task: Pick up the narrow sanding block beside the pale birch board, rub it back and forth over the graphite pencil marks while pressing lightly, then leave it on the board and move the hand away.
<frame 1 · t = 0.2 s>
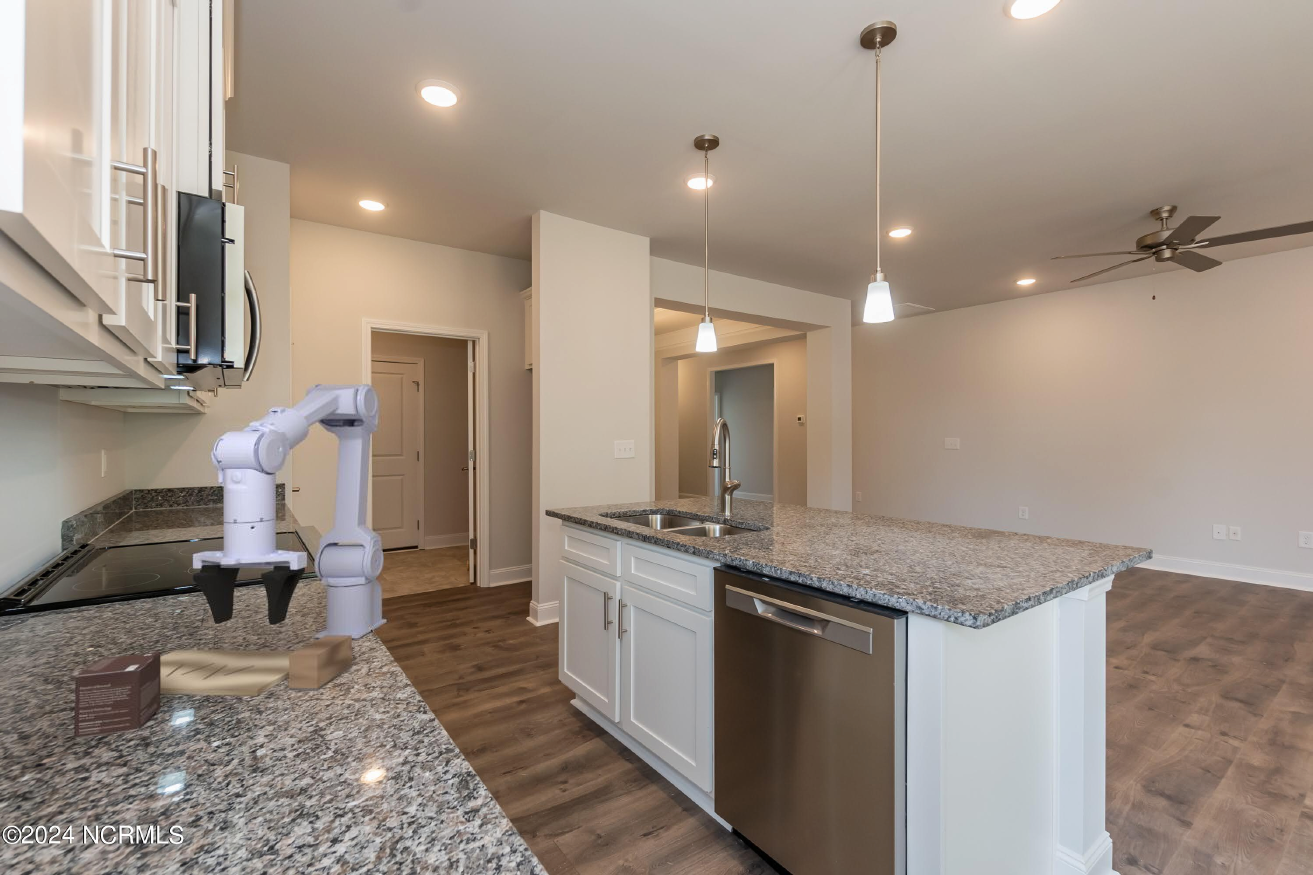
hand: (250, 621, 77), 10 cm above the counter, tool pointing down, fingers open, 7 cm apart
sanding block: (321, 679, 83), on the counter
board: (214, 673, 85), on the counter
box: (119, 725, 70), on the counter
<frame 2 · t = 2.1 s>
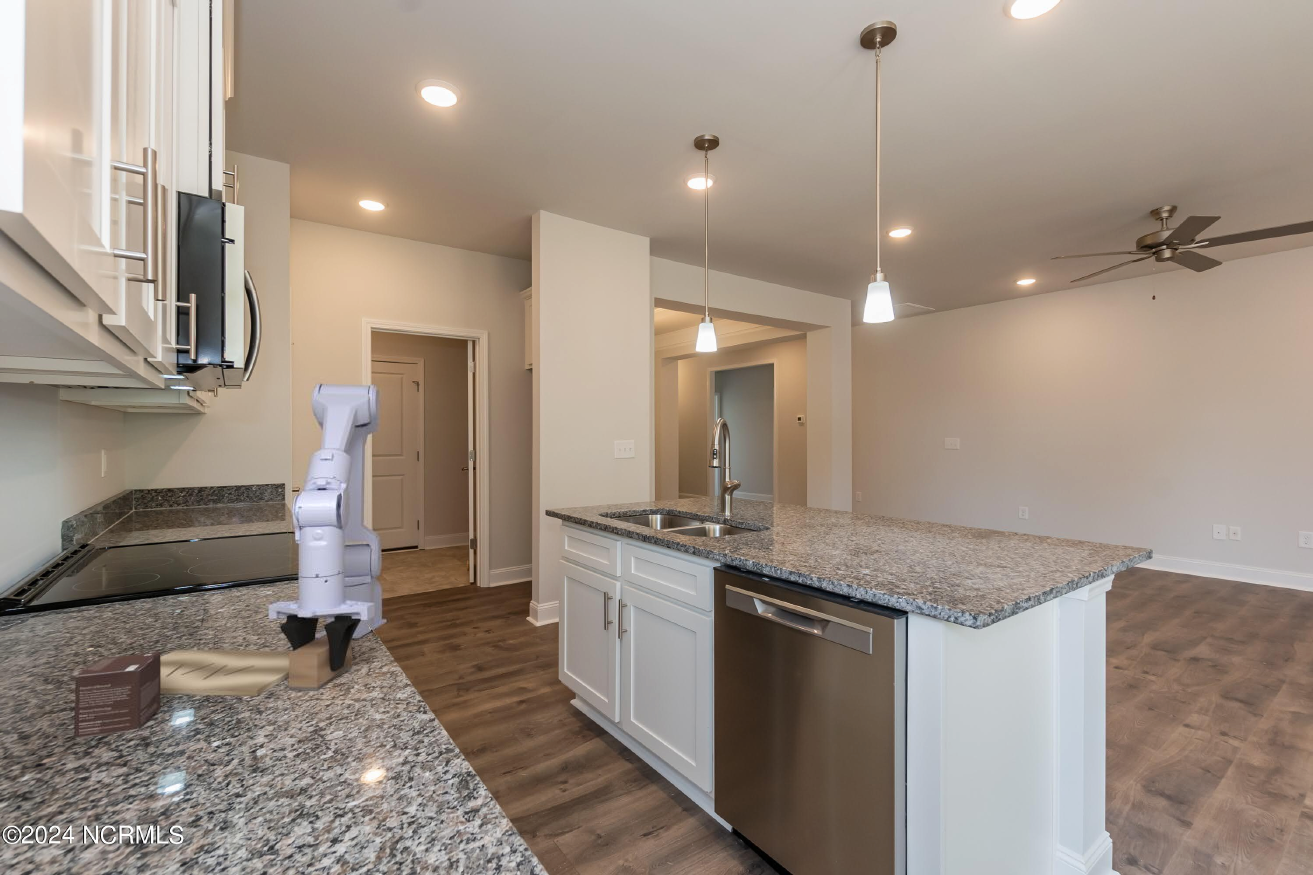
hand: (321, 668, 83), 1 cm above the counter, tool pointing down, fingers closed on sanding block, 4 cm apart
sanding block: (321, 678, 83), on the counter, touching gripper
everything else where it was.
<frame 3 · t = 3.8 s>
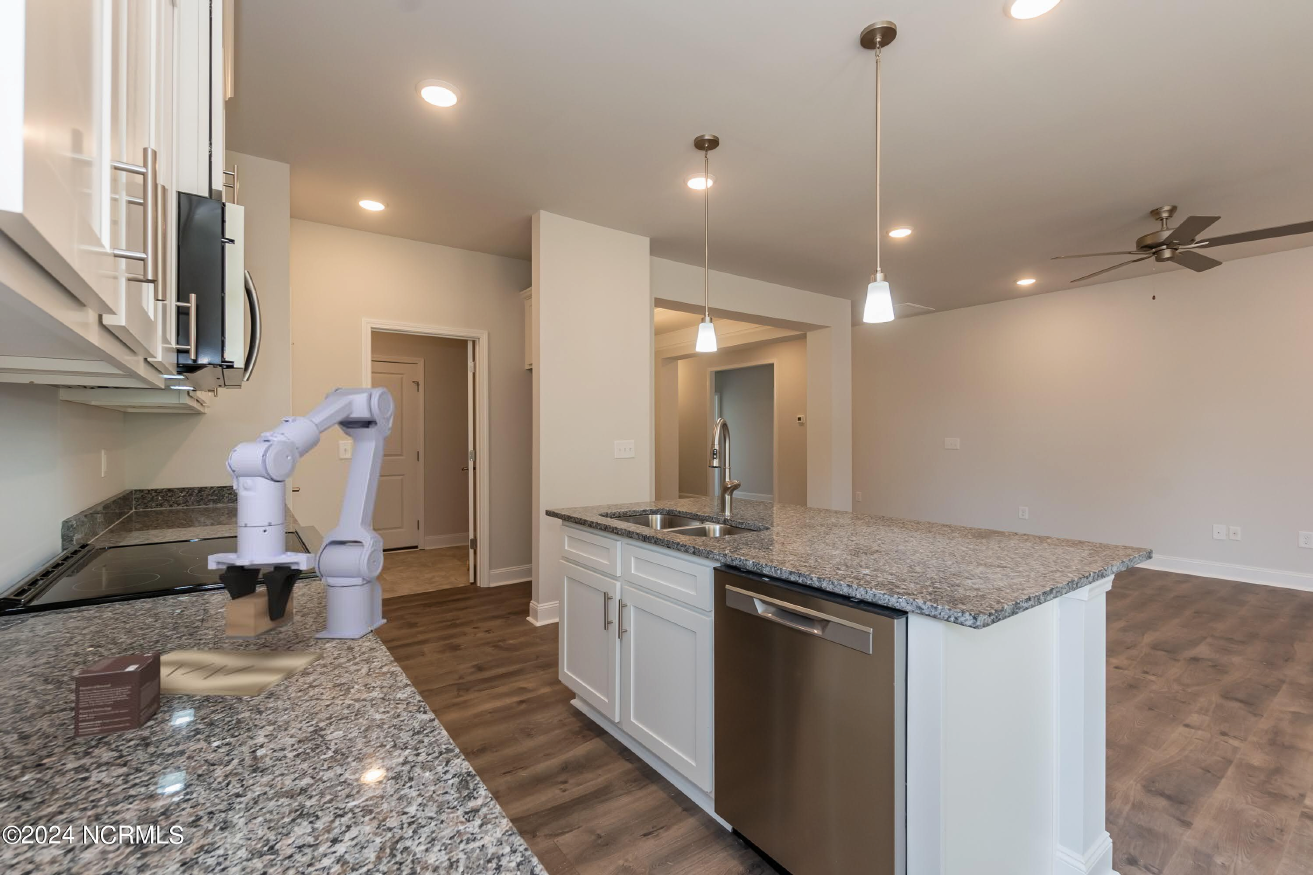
hand: (261, 618, 83), 8 cm above the counter, tool pointing down, fingers closed on sanding block, 4 cm apart
sanding block: (261, 629, 83), point 7 cm above the counter, touching gripper
everything else where it was.
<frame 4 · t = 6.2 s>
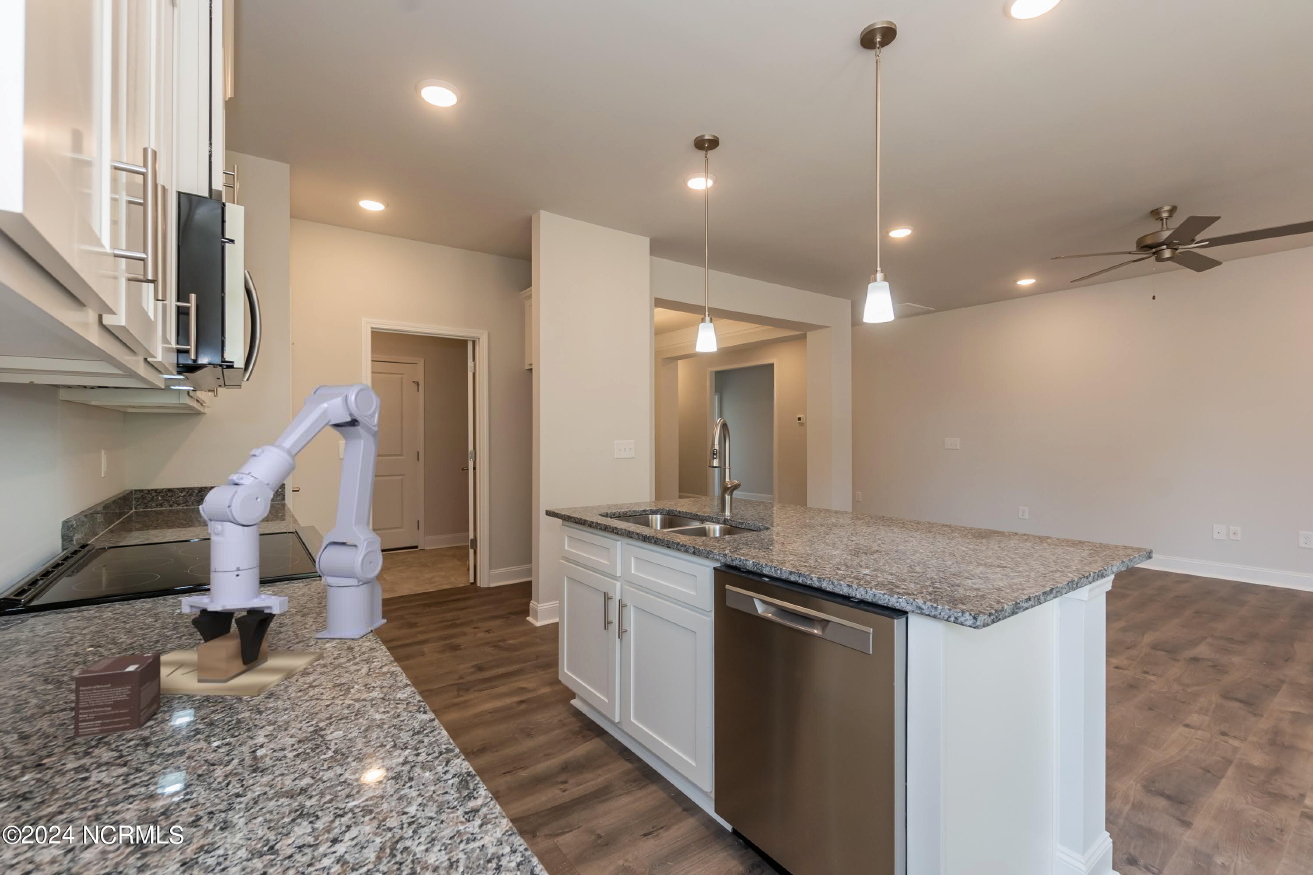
hand: (235, 661, 83), 2 cm above the counter, tool pointing down, fingers closed on sanding block, 4 cm apart
sanding block: (234, 671, 83), point 1 cm above the counter, touching gripper
everything else where it was.
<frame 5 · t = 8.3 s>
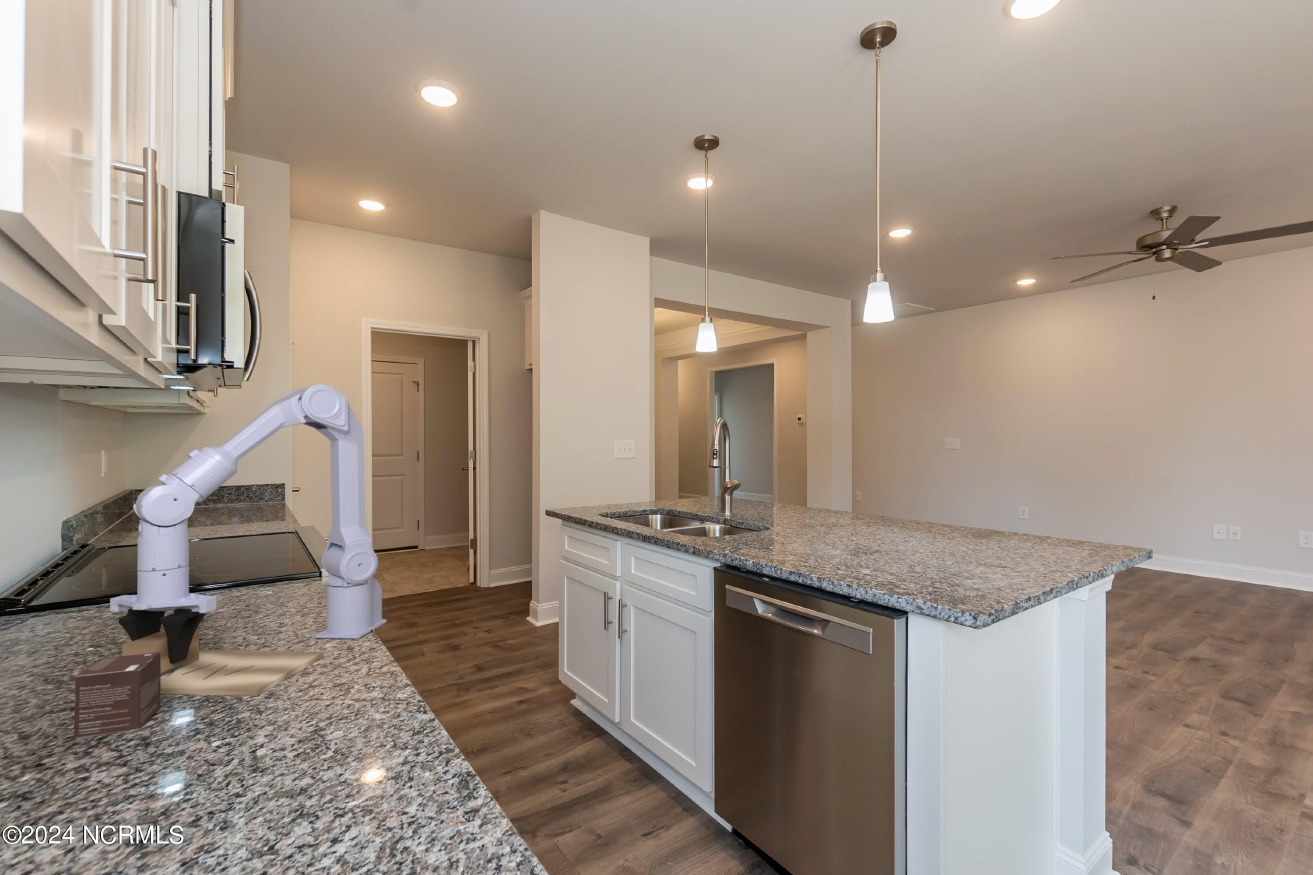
hand: (163, 660, 84), 2 cm above the counter, tool pointing down, fingers closed on sanding block, 4 cm apart
sanding block: (162, 669, 84), point 1 cm above the counter, touching gripper
everything else where it was.
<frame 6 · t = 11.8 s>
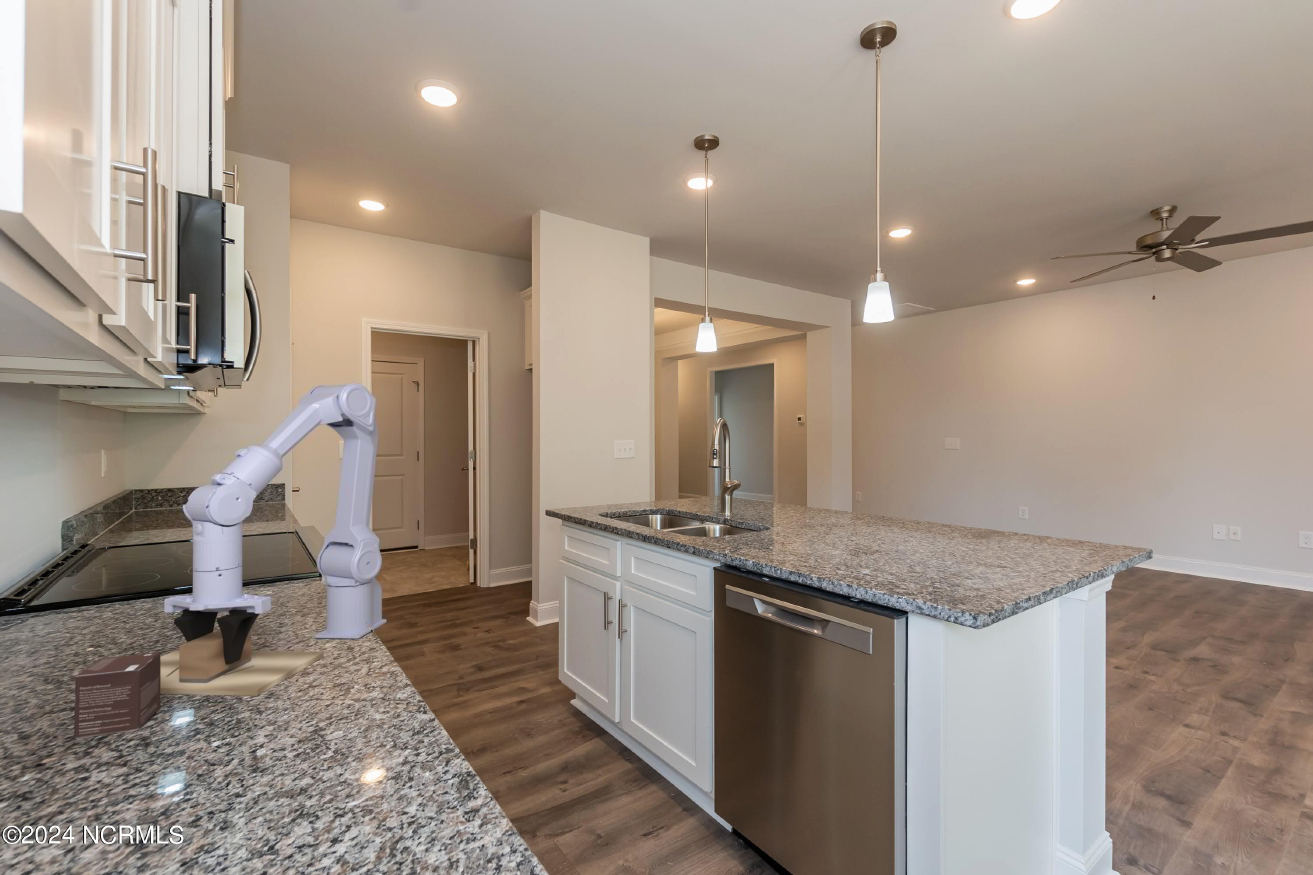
hand: (217, 661, 83), 2 cm above the counter, tool pointing down, fingers closed on sanding block, 4 cm apart
sanding block: (216, 670, 83), point 1 cm above the counter, touching gripper
everything else where it was.
when the fingers open (2 cm above the counter, at t = 15.1 s): sanding block stays where it is, resting on board.
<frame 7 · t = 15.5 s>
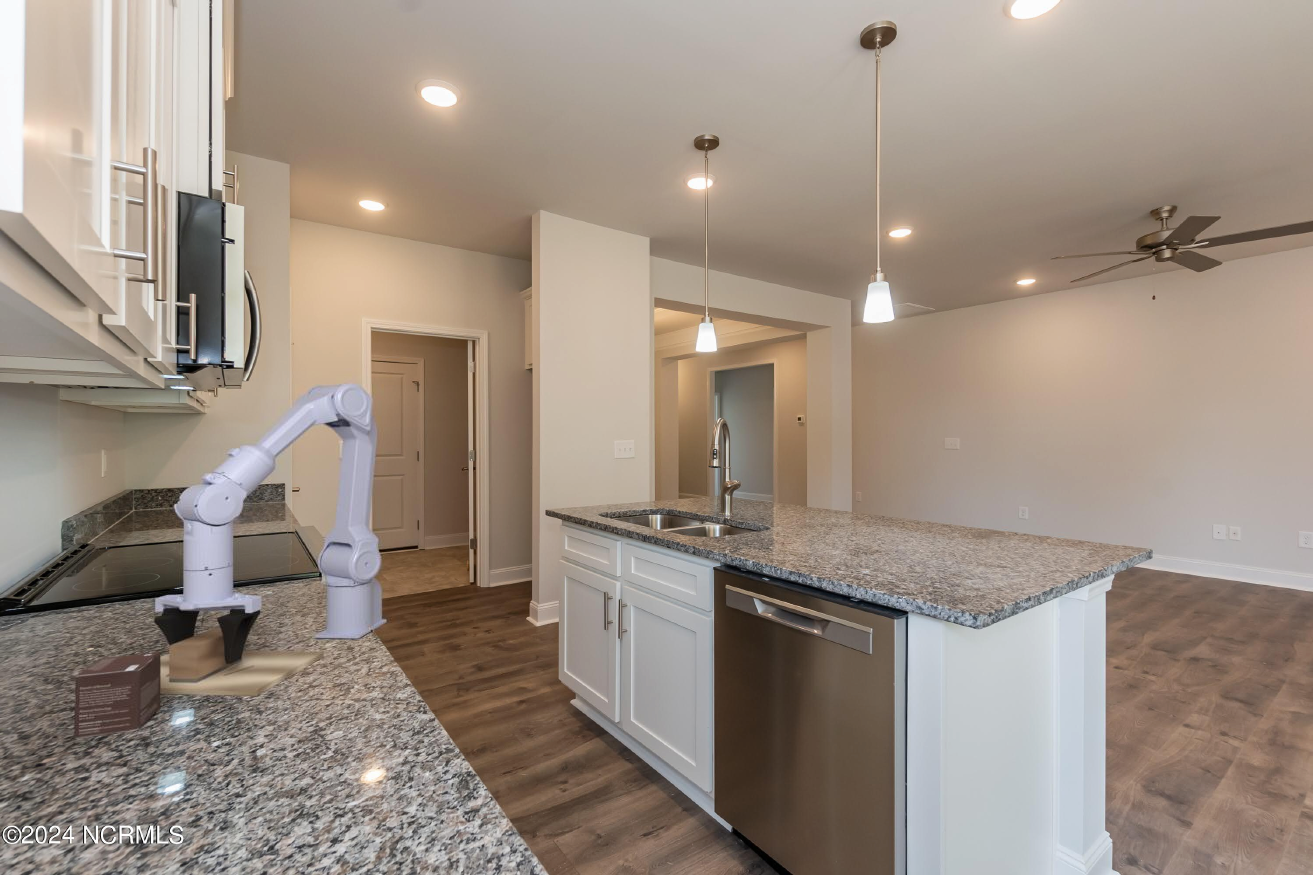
hand: (208, 660, 84), 2 cm above the counter, tool pointing down, fingers open, 7 cm apart
sanding block: (207, 670, 83), point 1 cm above the counter, touching board
everything else where it was.
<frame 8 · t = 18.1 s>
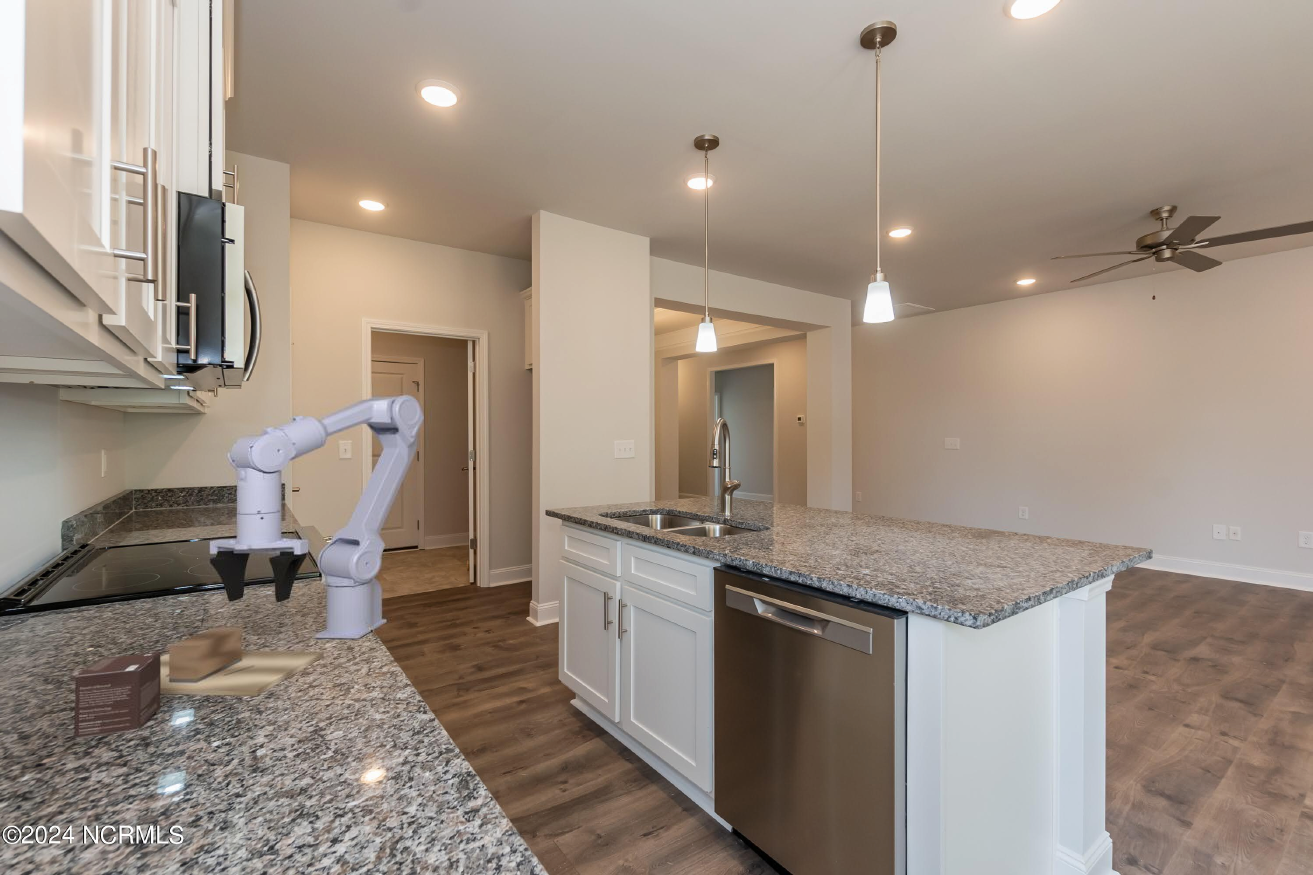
hand: (259, 599, 89), 9 cm above the counter, tool pointing down, fingers open, 7 cm apart
nothing on the counter moved.
at the end: sanding block inside the target area on the board (1.2 cm from its centre), point 0.8 cm above the board's base; sanding block tilted 0°; the gripper is holding nothing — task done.
